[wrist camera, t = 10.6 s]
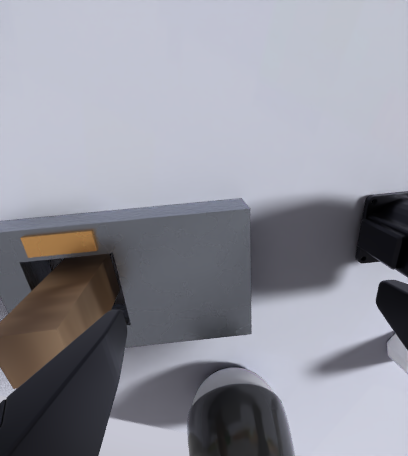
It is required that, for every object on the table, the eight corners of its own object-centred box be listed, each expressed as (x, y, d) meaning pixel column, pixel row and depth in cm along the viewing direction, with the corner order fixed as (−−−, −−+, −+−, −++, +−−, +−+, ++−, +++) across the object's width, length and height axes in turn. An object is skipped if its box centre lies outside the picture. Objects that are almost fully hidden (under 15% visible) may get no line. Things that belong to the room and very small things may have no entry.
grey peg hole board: (241, 198, 20) (251, 209, 17) (244, 311, 25) (252, 336, 21) (1, 220, 20) (-34, 236, 17) (48, 332, 24) (27, 360, 21)
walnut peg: (109, 252, 21) (56, 329, 13) (120, 289, 23) (79, 379, 14) (64, 258, 21) (-17, 338, 13) (78, 295, 23) (13, 388, 14)
